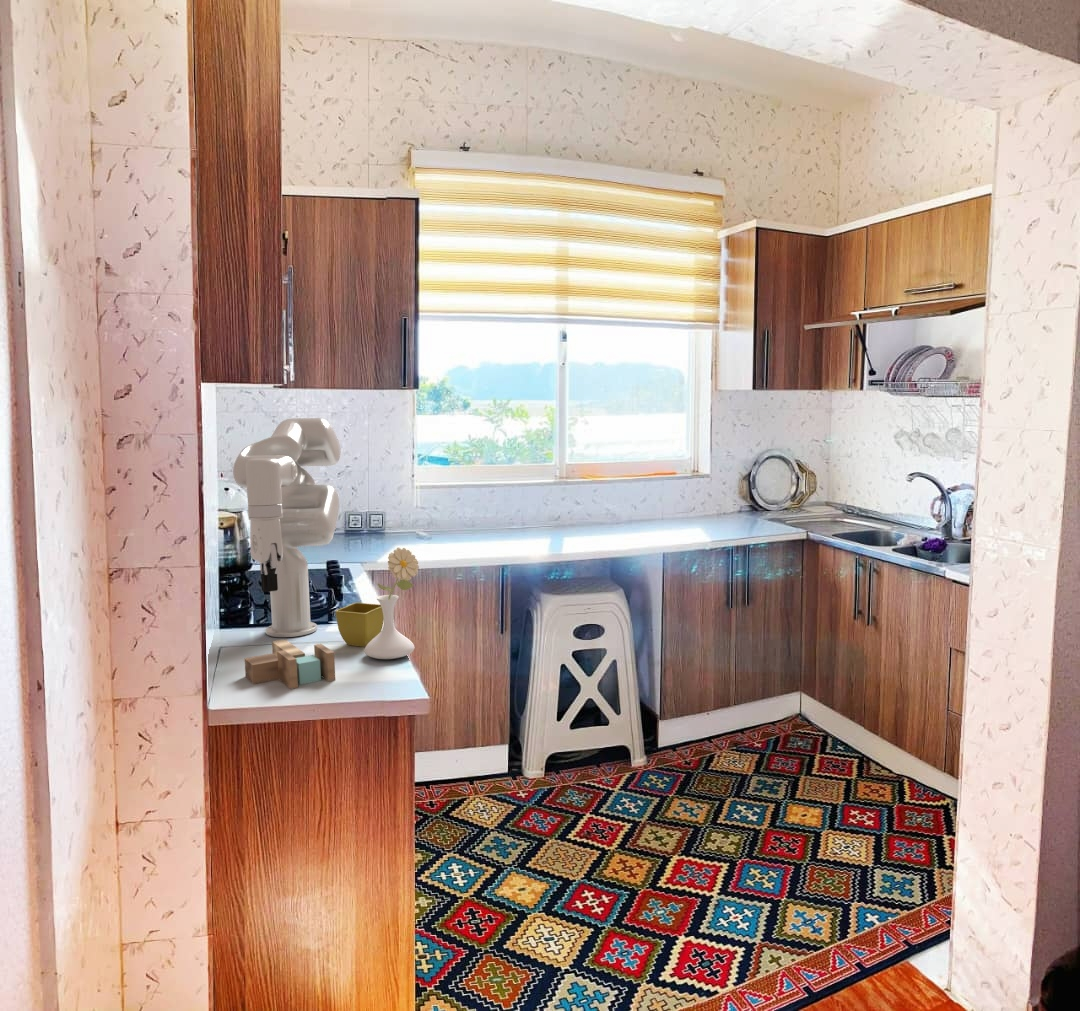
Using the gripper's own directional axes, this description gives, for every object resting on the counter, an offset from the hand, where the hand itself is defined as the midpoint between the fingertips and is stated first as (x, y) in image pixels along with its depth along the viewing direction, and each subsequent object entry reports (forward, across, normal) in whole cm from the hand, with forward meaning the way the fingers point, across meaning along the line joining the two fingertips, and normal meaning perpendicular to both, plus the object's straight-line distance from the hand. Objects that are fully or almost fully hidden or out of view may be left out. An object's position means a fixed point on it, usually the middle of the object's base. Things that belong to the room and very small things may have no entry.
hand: (269, 590), depth 198 cm
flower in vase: (+15, +18, +22) cm, 33 cm away
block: (+15, +24, 0) cm, 28 cm away
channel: (+15, +24, 0) cm, 28 cm away
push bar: (+15, +12, 0) cm, 19 cm away
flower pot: (+15, +4, +20) cm, 26 cm away
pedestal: (+15, +16, -7) cm, 23 cm away
